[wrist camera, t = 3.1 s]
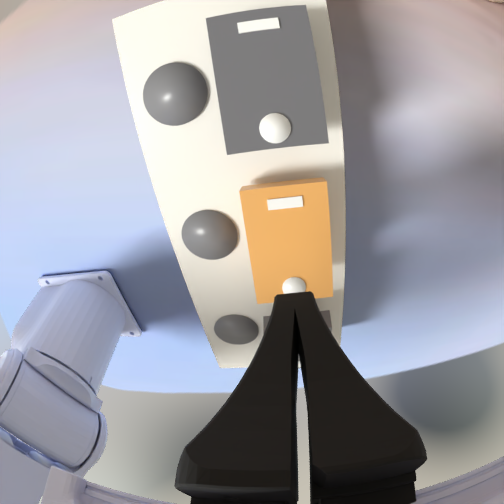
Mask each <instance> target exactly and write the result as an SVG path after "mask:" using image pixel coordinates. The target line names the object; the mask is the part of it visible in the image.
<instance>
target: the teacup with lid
mask: <svg viewBox="0 0 504 504" xmlns="http://www.w3.org/2000/svg"><path fill="white" fill-rule="evenodd" d="M488 1H492V2H499V3H502V2H504V0H488Z"/></svg>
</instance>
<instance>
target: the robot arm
mask: <svg viewBox="0 0 504 504" xmlns="http://www.w3.org/2000/svg"><path fill="white" fill-rule="evenodd" d="M38 283H39V285H40V286H41V289H40V290H39V292H38V293H37V294H36V296H35V297H34V299H33V300H32V302H31V303H30V304H29V306H28V307H27V309H26V310H25V312H24V313H23V315H22V316H21V318H20V319H19V321H18V323H17V324H16V326H15V328H14V330H13V334H12V340H11V348H12V349H9V350H6V351H5V352H4V353H3V354H2V355H1V356H0V426H1V427H2V428H1V427H0V504H38V503H39V501H40V499H41V497H42V496H43V498H42V502H41V504H175V503H169V502H163V501H158V500H153V499H149V498H144V497H140V496H136V495H132V494H128V493H124V492H121V491H117V490H113V489H110V488H107V487H103V486H100V485H97V484H94V483H91V482H88V481H86V480H85V479H83V477H84V475H85V474H86V473H87V471H88V470H89V469H90V468H91V467H92V466H94V465H95V464H96V463H97V461H98V460H99V459H100V457H101V455H102V453H103V451H104V448H105V446H106V442H107V424H106V419H105V416H104V415H103V414H102V413H101V412H100V409H101V406H102V401H101V400H100V399H99V398H97V394H98V391H99V388H100V385H101V383H102V380H103V378H104V375H105V372H106V370H107V367H108V365H109V362H110V360H111V357H112V355H113V352H114V350H115V347H116V345H117V343H118V340H119V338H120V336H135V337H138V336H141V334H142V331H141V329H140V327H139V326H138V324H137V322H136V320H135V319H134V317H133V315H132V313H131V312H130V310H129V308H128V306H127V304H126V302H125V301H124V299H123V297H122V295H121V293H120V291H119V289H118V287H117V285H116V283H115V281H114V279H113V277H112V275H111V274H110V273H109V272H108V271H96V272H86V273H75V274H65V275H54V276H43V277H39V279H38ZM298 357H299V358H300V364H301V370H302V377H303V383H304V389H305V395H306V402H307V411H308V430H309V455H310V502H311V503H310V504H504V456H503V457H501V458H499V459H497V460H495V461H493V462H491V463H489V464H487V465H484V466H482V467H480V468H478V469H475V470H473V471H471V472H468V473H466V474H463V475H461V476H458V477H455V478H453V479H450V480H447V481H444V482H442V483H439V484H436V485H433V486H429V487H426V488H423V489H420V490H416V491H415V486H414V482H415V481H416V473H415V470H416V469H418V468H419V467H420V466H421V465H422V464H424V462H425V461H426V460H427V456H426V450H425V447H424V444H423V442H422V439H421V437H420V435H419V433H418V431H417V430H416V429H415V428H414V427H413V426H412V425H410V424H409V423H408V422H407V421H406V420H404V419H403V418H402V417H401V416H400V415H399V414H397V413H396V412H395V411H394V410H393V409H392V408H391V407H390V406H389V405H388V404H387V403H386V402H385V401H384V400H383V399H382V398H381V397H380V396H379V395H378V394H377V393H376V392H375V391H374V390H373V388H372V387H371V386H370V385H369V384H368V383H367V382H366V381H365V379H364V378H363V377H362V376H361V375H360V373H359V372H358V371H357V370H356V368H355V367H354V366H353V364H352V363H351V362H350V360H349V359H348V358H347V356H346V355H345V353H344V352H343V350H342V349H341V347H340V346H339V344H338V343H337V341H336V340H335V338H334V336H333V335H332V333H331V331H330V329H329V328H328V326H327V324H326V322H325V320H324V318H323V316H322V314H321V312H320V310H319V308H318V306H317V303H316V300H315V298H314V294H313V293H312V292H311V291H308V292H298V293H287V294H277V295H276V296H275V297H274V303H273V308H272V312H271V315H270V318H269V321H268V324H267V327H266V330H265V332H264V335H263V337H262V340H261V342H260V344H259V347H258V349H257V351H256V353H255V355H254V357H253V359H252V361H251V363H250V365H249V367H248V369H247V370H246V372H245V374H244V375H243V377H242V379H241V380H240V382H239V384H238V385H237V387H236V388H235V390H234V391H233V393H232V394H231V395H230V397H229V398H228V400H227V401H226V403H225V404H224V405H223V406H222V408H221V409H220V410H219V411H218V412H217V414H216V415H215V416H214V417H213V418H212V420H211V421H210V422H209V423H208V424H207V425H206V427H205V428H204V429H203V430H202V431H201V432H200V433H199V434H198V435H197V436H196V437H195V438H194V439H193V440H192V441H191V442H190V443H189V444H188V445H187V446H186V447H185V448H184V450H183V453H182V455H181V458H180V461H179V464H178V467H177V473H176V479H175V487H176V489H178V490H179V491H181V492H183V493H185V494H187V495H189V496H191V504H297V501H298V457H297V456H298V455H297V423H296V400H297V381H298ZM3 428H4V429H5V430H4V429H3ZM7 431H8V432H7ZM10 433H11V434H12V435H11V434H10ZM13 435H14V436H15V437H14V436H13ZM16 437H17V438H18V439H17V438H16ZM19 439H20V440H19ZM22 441H23V442H22ZM25 443H26V444H25ZM27 444H28V445H29V446H28V445H27ZM30 446H31V447H30ZM33 448H34V449H33ZM35 449H36V450H35ZM38 451H39V452H38ZM40 452H41V453H40Z"/></svg>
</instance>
